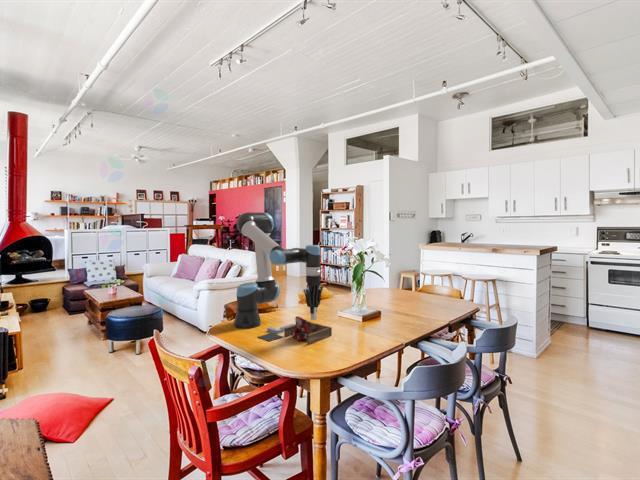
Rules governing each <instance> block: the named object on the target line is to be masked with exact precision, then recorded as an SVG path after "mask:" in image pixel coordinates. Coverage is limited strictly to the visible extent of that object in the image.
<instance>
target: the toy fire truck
mask: <svg viewBox="0 0 640 480" xmlns="http://www.w3.org/2000/svg"><path fill="white" fill-rule="evenodd" d="M307 321H308V320H307V319H304V318H303V317H300V316H295V324H296V330H293V331H292V335H291V336H292V338H293V339H296V341H298V342H302V341H303V340H307V335H309V334H311V333H312V331H309V328H308V324H307Z"/></svg>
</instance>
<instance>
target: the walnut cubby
mask: <svg viewBox="0 0 640 480" xmlns="http://www.w3.org/2000/svg"><path fill="white" fill-rule="evenodd" d="M307 324H308V328H309V331H310V332H311V334H309V335H307V339H306V341H307V342H306V343H307V345H311V344H315V343H317V342H319V341H322V340H325V339H327V338H330V337H332V335H333V334H332V332H333V331H332V330H333V329H332V327H331V326H328V325H324V324H320V323H316V322H313V321H309V320H307ZM293 330H296V325H293V326H290V327H286V328H284V332H283V334H284V337H285V338H287V337H291V336H292V331H293Z"/></svg>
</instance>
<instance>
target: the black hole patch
mask: <svg viewBox="0 0 640 480" xmlns="http://www.w3.org/2000/svg"><path fill="white" fill-rule="evenodd" d="M281 338H283V336H282V335H280V334H275V333H272V332H269V333H266V334H263V335H260V336H257V339H260V340H263V341H267V342H272V341H274V340H278V339H281Z"/></svg>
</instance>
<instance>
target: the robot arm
mask: <svg viewBox="0 0 640 480" xmlns="http://www.w3.org/2000/svg"><path fill="white" fill-rule="evenodd" d="M273 218H274V217H272V215H270V214H269V213H267V212H244V213H242V214H240V215H239V216H238V218H237V220H236V227H237V228H236V229H237V230H238V231H239V232H240V235H241V234H242V236H244V237H248V238H249V240H251V241H252V242H253V243H254V250H255V251H254V252H255V262H256V274H257V279H255V282H244V283H241V284H239V285H238V286H237V287H236V314H235V317H234V320H233V326H234V327H235V328H239V329H252V328H257V327H259V326H260V325H261V323H262V322H261V321H262V320H261V316H260V314H259V311H258V309H259V308H258V307H259V306H258V305H261V304H266V303H271V302H274V301H276V300H277V299H278V298H279V297H280V294H281V288H280V285H279V283H278V282H277V281H276V279H275V278H274V277H273V274H272V272H273V271H272V265H275V266H281V265H288V264H297V263H304V264H305V274H306V276H305V282H306V283H307V285H306V288H305V289H303V293H304V295H305V297H304V298H305V301H306V307H307V308H309V313H310V320H312V321H317V319H318V318H317V317H318V316H317V314H318V308H319V306H320V304H321V300H322V292H323V289H324V287H323V286H322V285H321V284H320V282H321V247H320V245H318V244H307V245H305V248H301V247H300V248H299V247H293V248H286V249H285V248H283V247H282V246H281V245H279V243H277V242H276V241H275V240H274V239H272V237H270V235H271V234H272V233H271V232H272V231H273V229H274V227H275V222H274V219H273Z"/></svg>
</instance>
